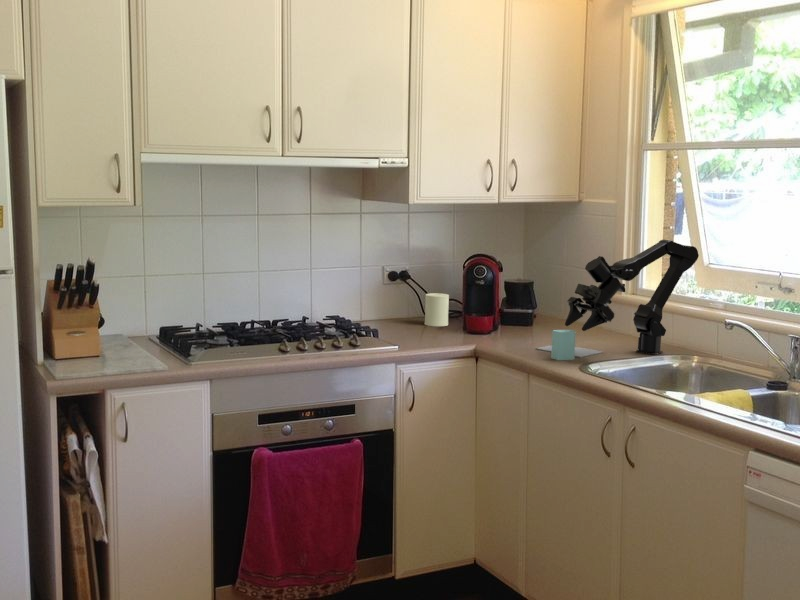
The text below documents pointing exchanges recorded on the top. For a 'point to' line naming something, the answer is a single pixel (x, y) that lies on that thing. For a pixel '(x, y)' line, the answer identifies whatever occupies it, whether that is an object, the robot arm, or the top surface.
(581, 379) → the top surface
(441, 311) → the can
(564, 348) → the mint green pillar
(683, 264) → the robot arm
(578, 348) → the placemat
